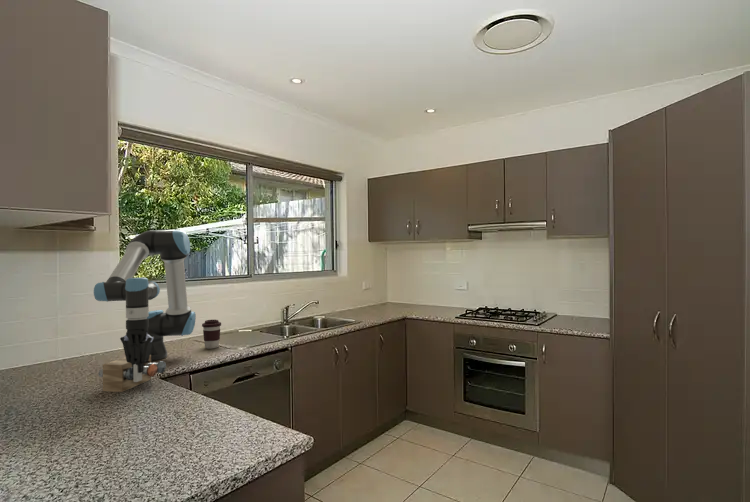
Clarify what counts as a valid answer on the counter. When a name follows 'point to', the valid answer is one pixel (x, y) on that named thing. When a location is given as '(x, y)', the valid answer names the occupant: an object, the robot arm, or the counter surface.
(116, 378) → the block
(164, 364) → the plug
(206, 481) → the counter surface
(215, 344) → the coffee cup
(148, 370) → the plug rust
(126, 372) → the plug
